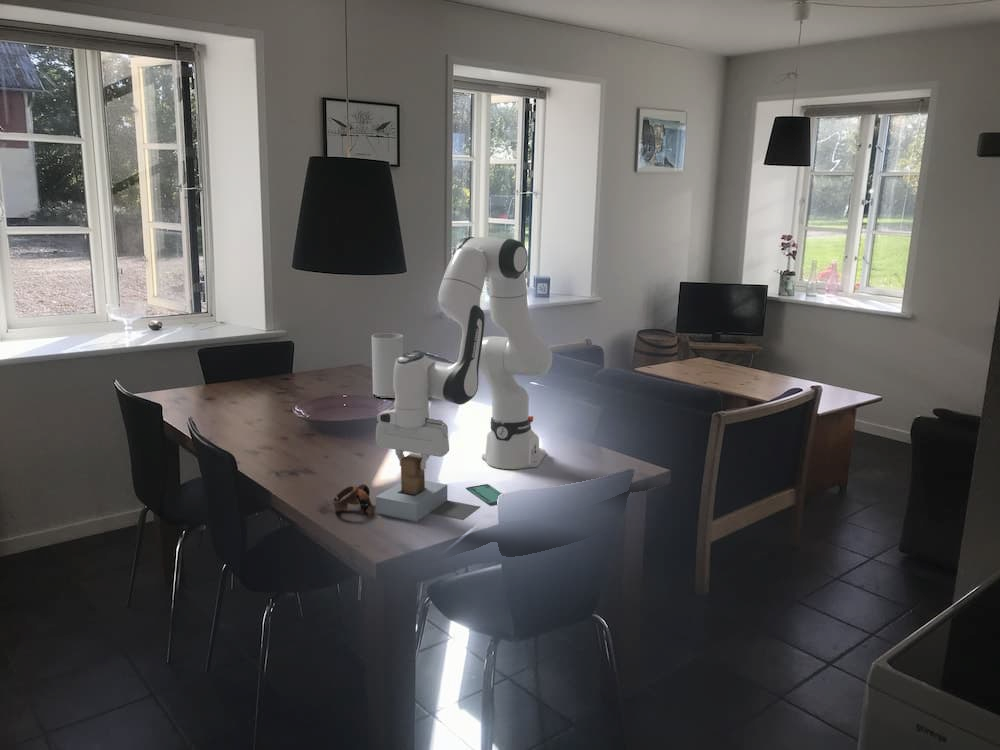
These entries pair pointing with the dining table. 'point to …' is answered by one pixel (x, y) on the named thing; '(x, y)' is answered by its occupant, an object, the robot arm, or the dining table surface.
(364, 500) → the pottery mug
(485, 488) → the smartphone
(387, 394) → the cylinder vase
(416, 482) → the walnut block
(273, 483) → the dining table surface
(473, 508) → the rubber mat
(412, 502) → the pocket holder
